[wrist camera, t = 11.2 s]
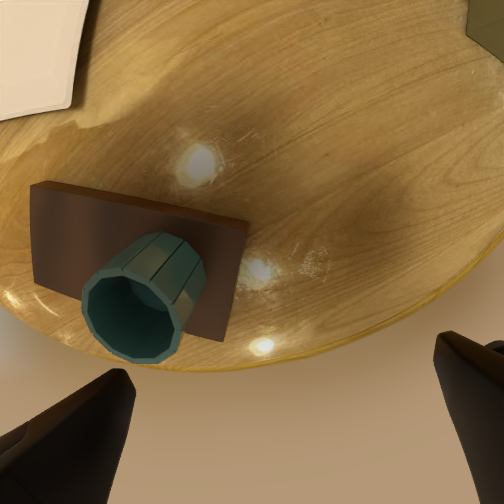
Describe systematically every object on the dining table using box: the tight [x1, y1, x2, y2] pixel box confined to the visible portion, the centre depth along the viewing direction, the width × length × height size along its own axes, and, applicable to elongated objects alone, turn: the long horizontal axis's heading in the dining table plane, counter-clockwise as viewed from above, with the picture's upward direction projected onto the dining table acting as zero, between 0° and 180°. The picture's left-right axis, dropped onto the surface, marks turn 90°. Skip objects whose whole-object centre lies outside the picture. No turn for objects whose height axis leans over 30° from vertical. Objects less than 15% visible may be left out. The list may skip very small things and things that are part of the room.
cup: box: [81, 232, 207, 364], centre depth 16 cm, size 5×5×6 cm
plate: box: [0, 0, 90, 121], centre depth 13 cm, size 19×19×2 cm
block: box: [30, 181, 250, 342], centre depth 20 cm, size 16×8×2 cm, turn 78°
